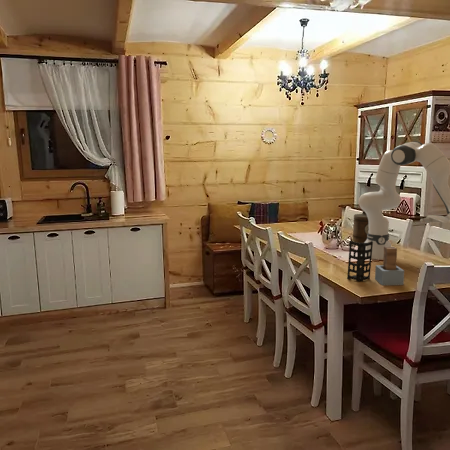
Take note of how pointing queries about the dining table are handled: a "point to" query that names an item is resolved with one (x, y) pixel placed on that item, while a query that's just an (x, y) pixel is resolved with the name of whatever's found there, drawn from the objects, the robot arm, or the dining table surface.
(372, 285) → the dining table surface
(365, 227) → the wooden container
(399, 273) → the box
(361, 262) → the holder
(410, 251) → the dining table surface
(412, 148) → the robot arm
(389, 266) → the peg
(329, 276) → the dining table surface
